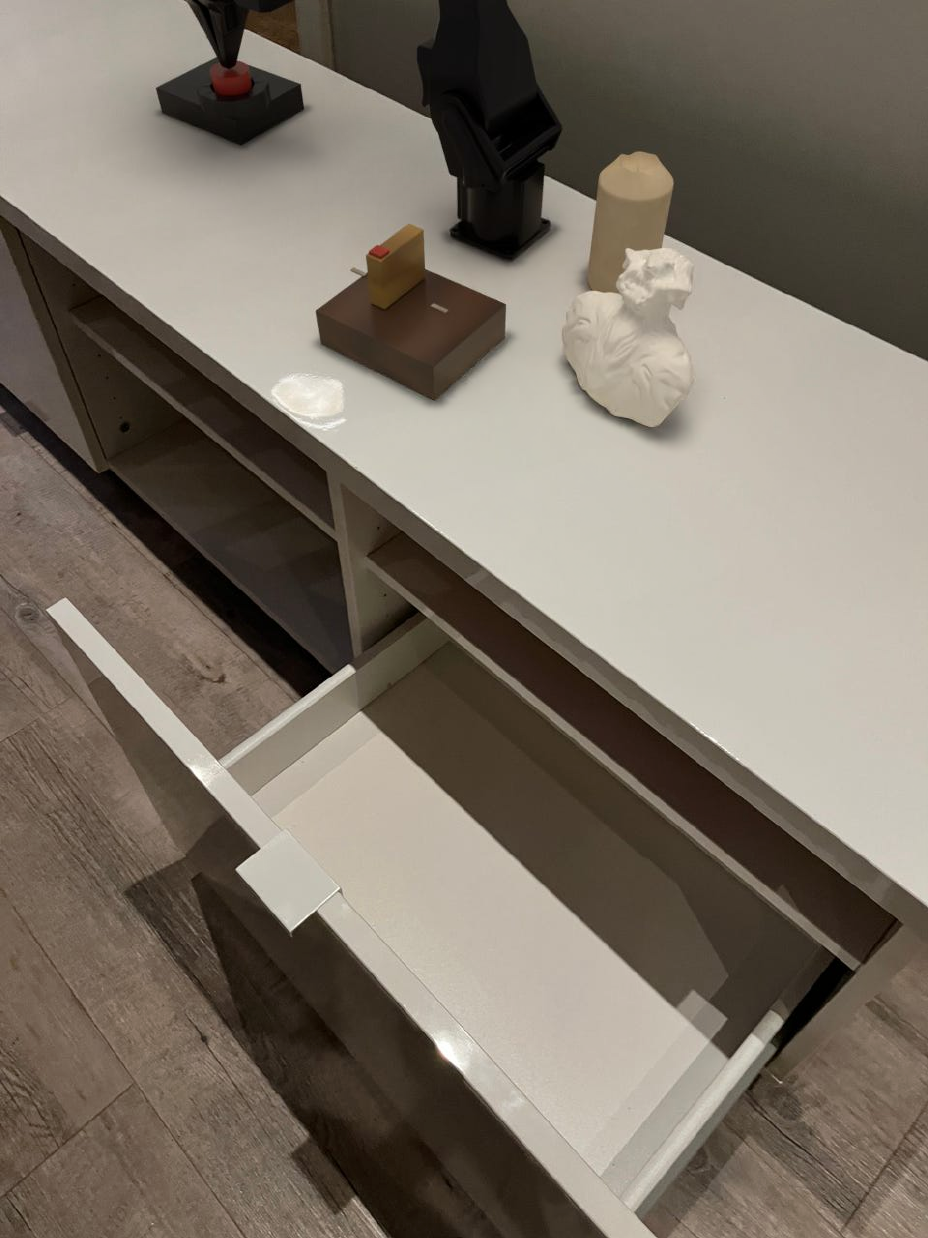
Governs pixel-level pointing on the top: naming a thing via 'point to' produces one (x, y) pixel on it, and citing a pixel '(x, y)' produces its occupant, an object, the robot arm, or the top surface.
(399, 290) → the thumbturn
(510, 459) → the top surface
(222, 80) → the button
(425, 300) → the plate
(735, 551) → the top surface
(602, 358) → the bust
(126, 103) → the top surface
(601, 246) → the candle
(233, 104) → the push button box
